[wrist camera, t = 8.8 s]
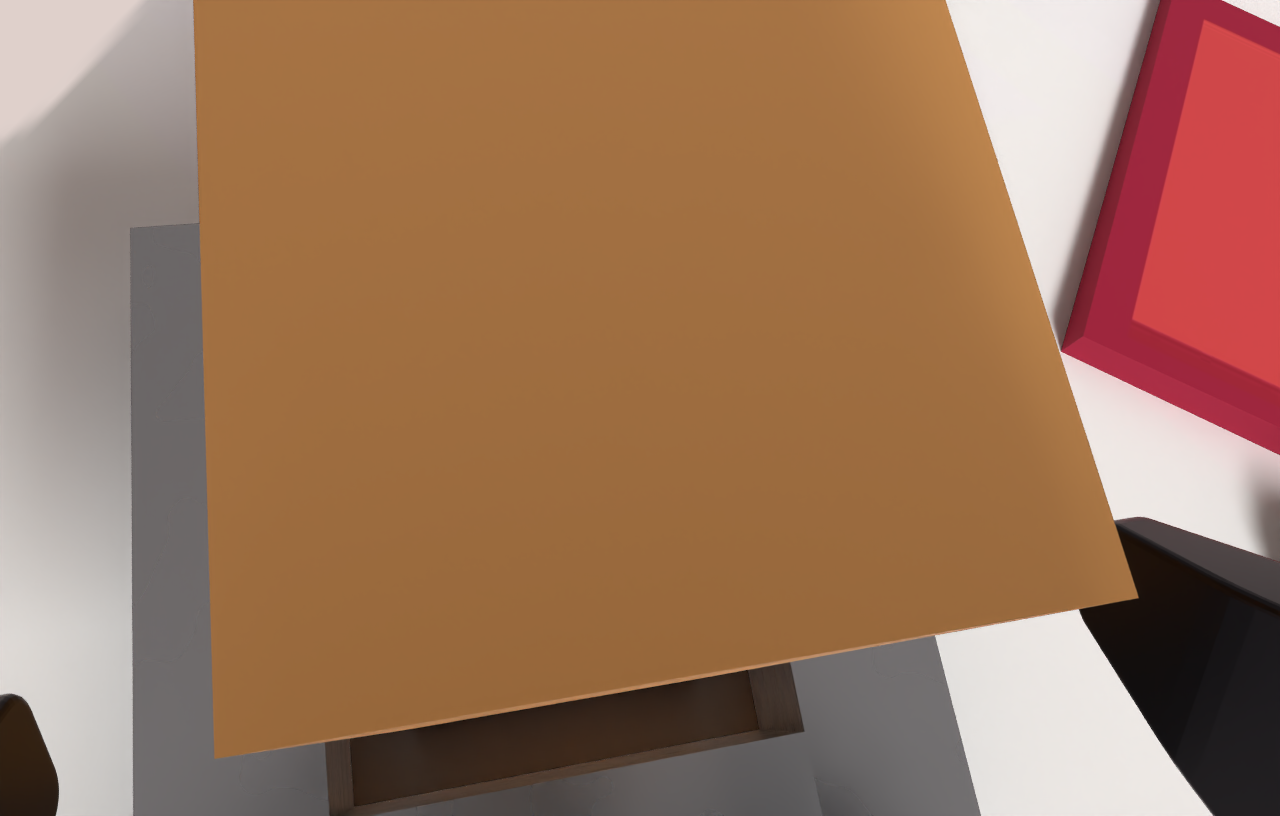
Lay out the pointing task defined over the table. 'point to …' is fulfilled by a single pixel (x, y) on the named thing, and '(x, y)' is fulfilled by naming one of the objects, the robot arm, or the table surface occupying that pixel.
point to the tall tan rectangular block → (610, 355)
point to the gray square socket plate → (505, 808)
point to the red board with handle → (1194, 226)
